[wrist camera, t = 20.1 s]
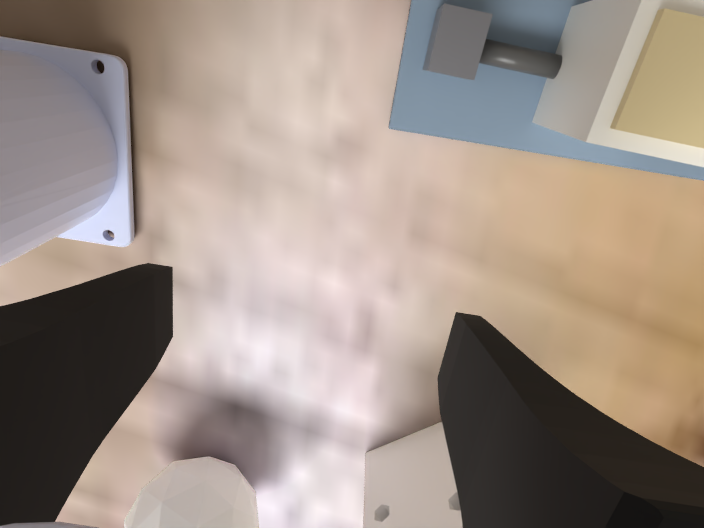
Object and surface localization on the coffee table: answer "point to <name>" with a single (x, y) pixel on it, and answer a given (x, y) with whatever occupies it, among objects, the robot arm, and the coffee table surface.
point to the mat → (499, 89)
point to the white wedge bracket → (411, 483)
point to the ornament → (195, 497)
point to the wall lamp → (600, 72)
